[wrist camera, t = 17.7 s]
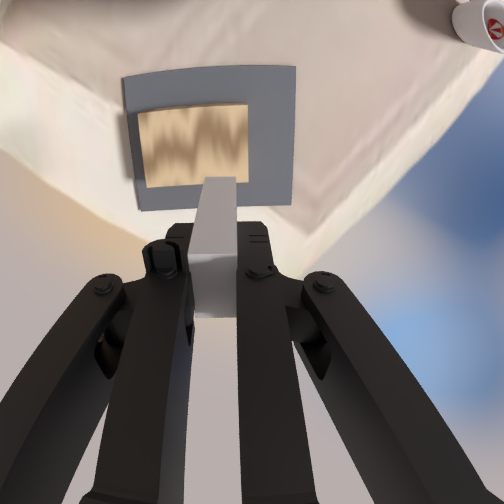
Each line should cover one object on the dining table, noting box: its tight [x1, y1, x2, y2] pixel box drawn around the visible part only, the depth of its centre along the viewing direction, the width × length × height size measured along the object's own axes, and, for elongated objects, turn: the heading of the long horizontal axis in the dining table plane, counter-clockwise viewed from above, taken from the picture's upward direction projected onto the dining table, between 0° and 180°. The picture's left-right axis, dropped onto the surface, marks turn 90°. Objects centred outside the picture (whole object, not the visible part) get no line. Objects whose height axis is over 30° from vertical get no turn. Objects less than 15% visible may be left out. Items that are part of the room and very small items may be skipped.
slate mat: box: [124, 65, 296, 212], centre depth 35 cm, size 18×20×1 cm
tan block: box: [138, 102, 249, 188], centre depth 33 cm, size 9×3×12 cm
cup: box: [452, 0, 504, 54], centre depth 21 cm, size 11×8×8 cm
